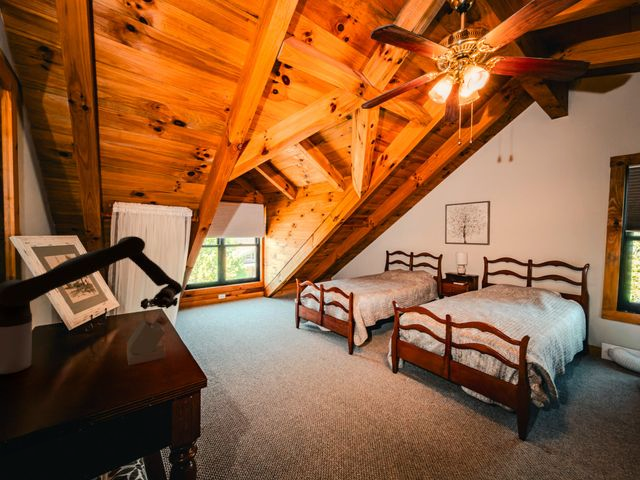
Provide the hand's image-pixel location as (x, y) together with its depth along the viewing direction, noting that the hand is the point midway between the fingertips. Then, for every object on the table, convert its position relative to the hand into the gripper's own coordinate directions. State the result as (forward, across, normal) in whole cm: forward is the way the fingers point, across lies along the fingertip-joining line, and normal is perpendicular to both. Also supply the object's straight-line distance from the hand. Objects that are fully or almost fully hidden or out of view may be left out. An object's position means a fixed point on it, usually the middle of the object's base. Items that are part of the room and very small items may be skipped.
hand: (155, 306), depth 121 cm
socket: (+2, -3, +21) cm, 21 cm away
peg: (+2, -5, +17) cm, 18 cm away
